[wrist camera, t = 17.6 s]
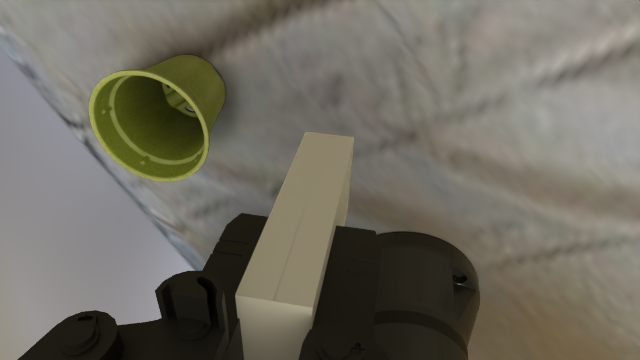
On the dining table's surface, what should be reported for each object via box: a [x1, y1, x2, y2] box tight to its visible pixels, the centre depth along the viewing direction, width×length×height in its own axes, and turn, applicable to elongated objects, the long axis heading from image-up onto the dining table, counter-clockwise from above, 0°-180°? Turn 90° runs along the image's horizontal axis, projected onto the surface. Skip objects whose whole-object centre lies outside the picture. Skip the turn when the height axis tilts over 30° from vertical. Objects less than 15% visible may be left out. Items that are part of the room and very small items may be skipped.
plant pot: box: [89, 55, 226, 182], centre depth 38 cm, size 9×9×9 cm
